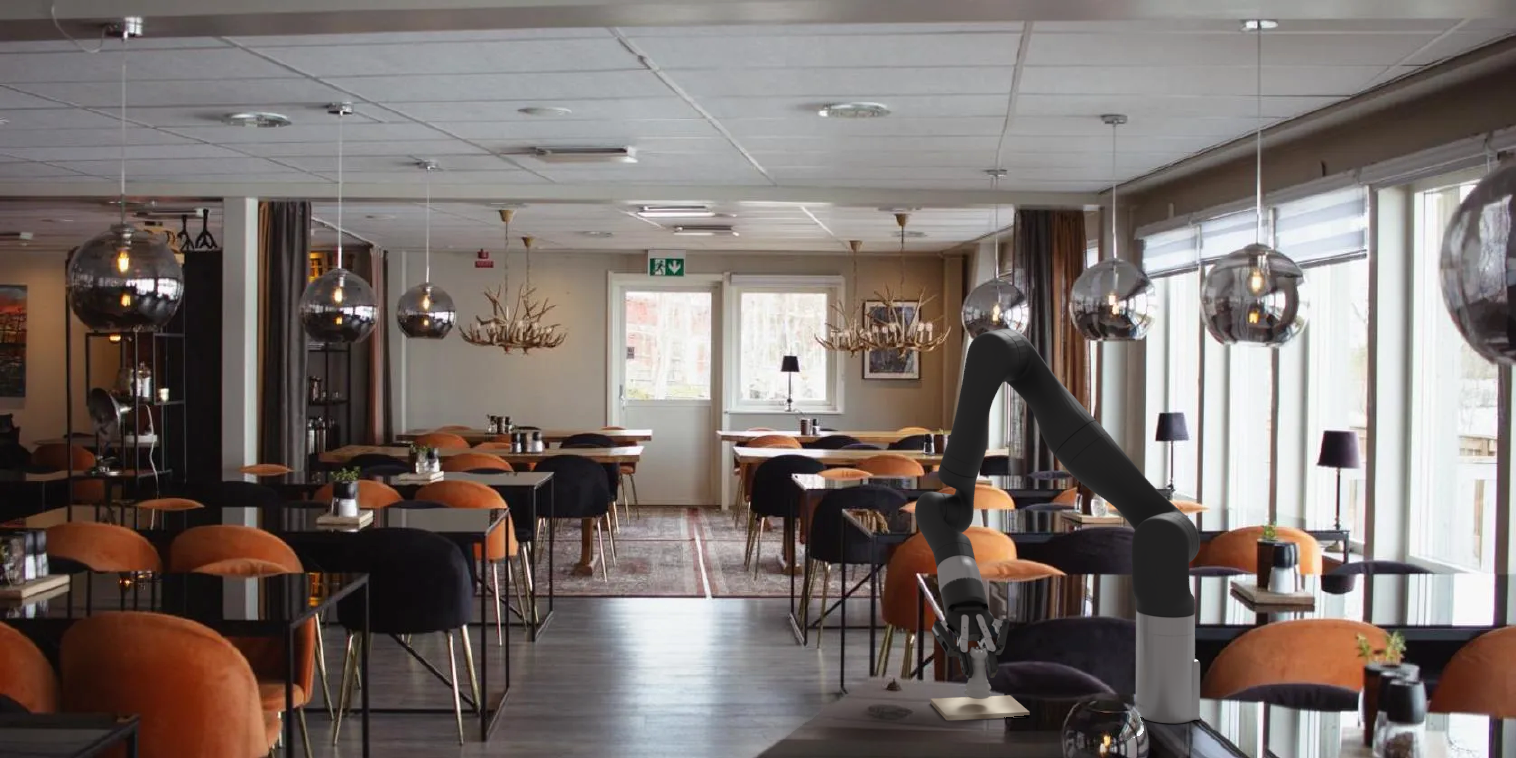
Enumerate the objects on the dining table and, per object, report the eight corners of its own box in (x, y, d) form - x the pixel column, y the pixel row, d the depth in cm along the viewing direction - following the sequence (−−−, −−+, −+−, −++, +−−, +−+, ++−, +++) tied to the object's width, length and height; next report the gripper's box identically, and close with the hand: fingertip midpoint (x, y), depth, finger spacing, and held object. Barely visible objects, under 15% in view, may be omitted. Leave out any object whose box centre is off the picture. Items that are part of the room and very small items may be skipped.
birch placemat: (1010, 699, 223) (1010, 695, 223) (1029, 716, 213) (1029, 711, 213) (930, 703, 221) (930, 698, 221) (946, 720, 212) (946, 715, 211)
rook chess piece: (991, 700, 215) (991, 652, 215) (964, 698, 216) (964, 651, 215) (992, 692, 219) (992, 645, 219) (965, 691, 220) (965, 644, 220)
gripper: (926, 577, 223) (945, 665, 212) (1005, 574, 225) (1028, 662, 213) (918, 601, 229) (936, 688, 217) (995, 598, 231) (1017, 685, 219)
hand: (981, 675), depth 215 cm, fingers closed on rook chess piece, 3 cm apart
